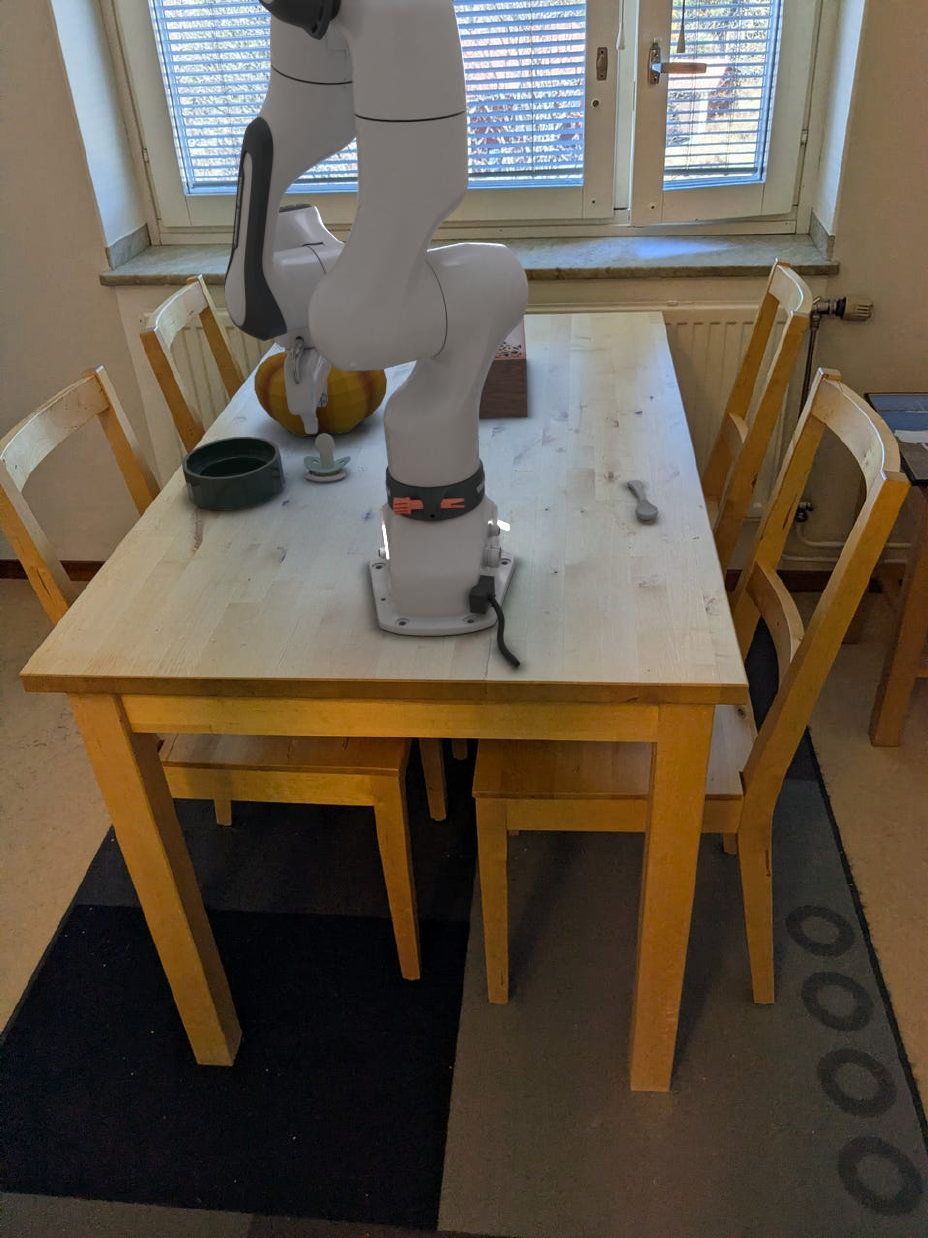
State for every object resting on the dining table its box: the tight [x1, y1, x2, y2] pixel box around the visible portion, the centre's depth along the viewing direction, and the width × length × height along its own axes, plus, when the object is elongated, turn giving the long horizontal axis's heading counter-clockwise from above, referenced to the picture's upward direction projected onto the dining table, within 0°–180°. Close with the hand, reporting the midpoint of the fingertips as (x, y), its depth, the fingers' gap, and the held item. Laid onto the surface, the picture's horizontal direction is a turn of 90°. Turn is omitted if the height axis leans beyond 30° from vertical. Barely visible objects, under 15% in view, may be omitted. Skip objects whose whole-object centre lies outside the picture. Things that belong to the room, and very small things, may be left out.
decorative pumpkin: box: [253, 350, 388, 437], centre depth 163 cm, size 20×22×15 cm
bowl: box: [181, 436, 286, 511], centre depth 146 cm, size 14×14×6 cm
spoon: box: [626, 479, 659, 521], centre depth 137 cm, size 3×12×2 cm, turn 2°
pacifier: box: [302, 433, 351, 483], centre depth 149 cm, size 7×6×6 cm
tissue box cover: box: [479, 315, 529, 420], centre depth 173 cm, size 26×14×10 cm, turn 178°
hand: (317, 418), depth 146 cm, fingers open, 8 cm apart
